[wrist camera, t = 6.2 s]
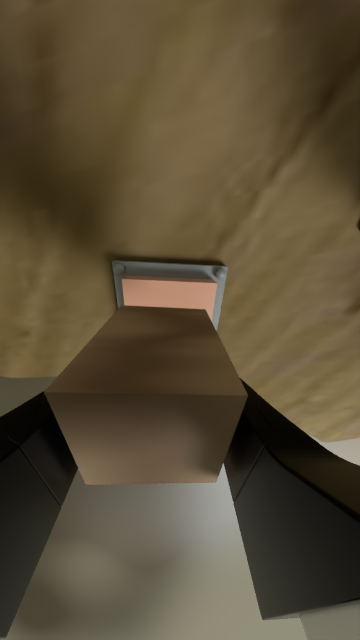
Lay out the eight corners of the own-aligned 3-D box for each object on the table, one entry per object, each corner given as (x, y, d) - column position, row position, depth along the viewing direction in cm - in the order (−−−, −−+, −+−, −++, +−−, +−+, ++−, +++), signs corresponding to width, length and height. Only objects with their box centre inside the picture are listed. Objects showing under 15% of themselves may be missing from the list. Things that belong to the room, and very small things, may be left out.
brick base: (225, 265, 18) (234, 269, 16) (210, 353, 24) (215, 366, 21) (115, 260, 18) (104, 262, 15) (126, 351, 23) (120, 365, 21)
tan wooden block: (205, 309, 9) (248, 395, 4) (196, 371, 12) (216, 482, 6) (121, 305, 9) (44, 392, 4) (128, 369, 11) (85, 484, 6)
